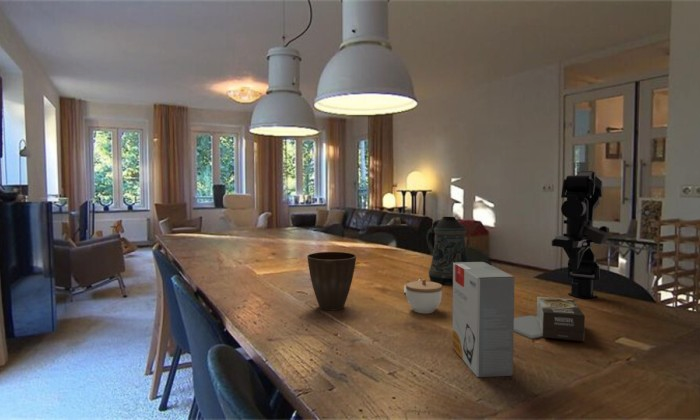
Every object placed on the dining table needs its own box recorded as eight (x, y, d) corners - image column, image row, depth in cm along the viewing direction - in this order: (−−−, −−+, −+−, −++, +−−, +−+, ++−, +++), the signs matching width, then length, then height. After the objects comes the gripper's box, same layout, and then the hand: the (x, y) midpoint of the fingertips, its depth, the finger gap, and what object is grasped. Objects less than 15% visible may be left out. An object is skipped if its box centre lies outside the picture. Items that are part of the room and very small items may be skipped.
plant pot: (363, 303, 137) (363, 253, 136) (343, 316, 124) (343, 260, 123) (322, 298, 143) (322, 250, 142) (298, 310, 130) (297, 257, 129)
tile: (531, 316, 123) (531, 314, 123) (574, 331, 110) (574, 330, 110) (492, 322, 118) (492, 320, 118) (531, 339, 105) (531, 337, 105)
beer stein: (465, 287, 158) (466, 219, 157) (415, 282, 168) (415, 217, 167) (476, 279, 173) (477, 216, 171) (429, 274, 182) (429, 215, 181)
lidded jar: (419, 303, 137) (420, 274, 137) (449, 310, 129) (449, 279, 129) (398, 310, 130) (398, 279, 129) (428, 318, 122) (428, 285, 121)
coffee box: (573, 298, 116) (586, 315, 101) (572, 322, 117) (585, 342, 101) (536, 295, 119) (543, 311, 104) (535, 318, 120) (542, 338, 104)
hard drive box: (451, 348, 99) (451, 261, 98) (483, 347, 100) (484, 261, 99) (476, 378, 84) (477, 276, 83) (514, 376, 84) (516, 275, 83)
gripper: (590, 220, 119) (589, 276, 119) (619, 217, 130) (618, 268, 131) (551, 217, 127) (549, 270, 128) (581, 215, 139) (580, 263, 140)
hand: (575, 268), depth 131 cm, fingers closed
